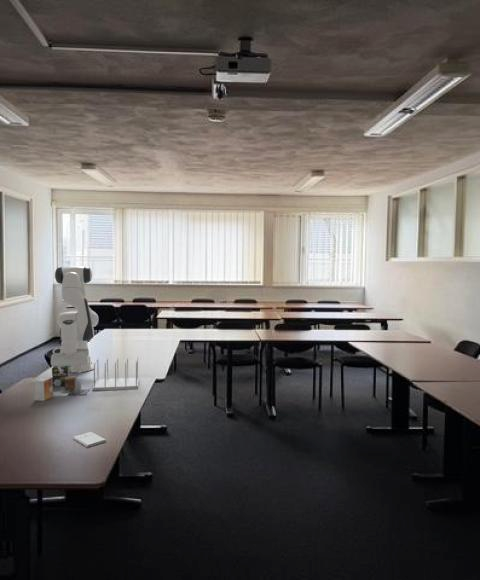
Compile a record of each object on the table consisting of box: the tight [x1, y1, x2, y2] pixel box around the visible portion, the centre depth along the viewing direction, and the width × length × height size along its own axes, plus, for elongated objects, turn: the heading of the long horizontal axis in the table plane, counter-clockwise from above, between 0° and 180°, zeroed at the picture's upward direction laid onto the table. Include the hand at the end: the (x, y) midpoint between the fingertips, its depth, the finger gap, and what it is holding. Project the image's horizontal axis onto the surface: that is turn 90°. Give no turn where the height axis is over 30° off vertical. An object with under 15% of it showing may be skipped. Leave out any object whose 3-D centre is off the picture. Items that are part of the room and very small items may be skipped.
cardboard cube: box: [64, 375, 77, 391], centre depth 267 cm, size 5×5×7 cm
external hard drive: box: [72, 431, 107, 448], centre depth 193 cm, size 2×8×12 cm
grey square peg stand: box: [66, 380, 91, 397], centre depth 259 cm, size 10×10×7 cm
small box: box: [34, 376, 54, 402], centre depth 249 cm, size 8×6×10 cm
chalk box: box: [51, 366, 73, 388], centre depth 276 cm, size 9×9×15 cm
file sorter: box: [92, 356, 140, 391], centre depth 274 cm, size 25×17×16 cm
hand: (70, 373), depth 267 cm, fingers open, 8 cm apart
